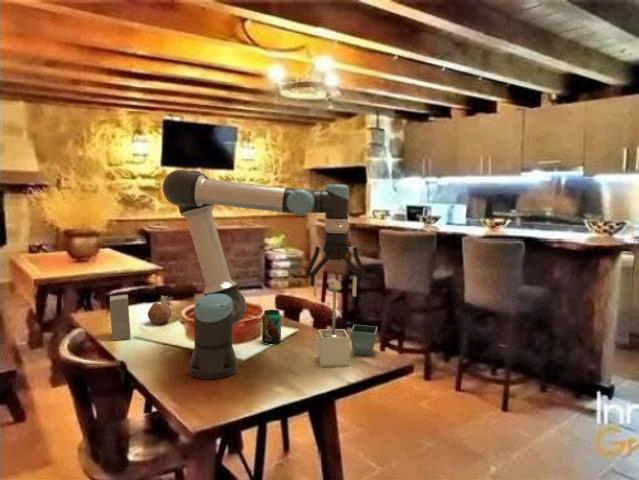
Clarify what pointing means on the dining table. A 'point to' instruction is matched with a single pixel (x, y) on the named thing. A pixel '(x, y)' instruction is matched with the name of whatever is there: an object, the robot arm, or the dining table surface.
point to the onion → (159, 313)
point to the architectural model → (163, 301)
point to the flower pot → (363, 339)
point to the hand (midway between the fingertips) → (334, 295)
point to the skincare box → (120, 317)
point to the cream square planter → (333, 349)
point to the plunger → (334, 309)
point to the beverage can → (271, 327)
